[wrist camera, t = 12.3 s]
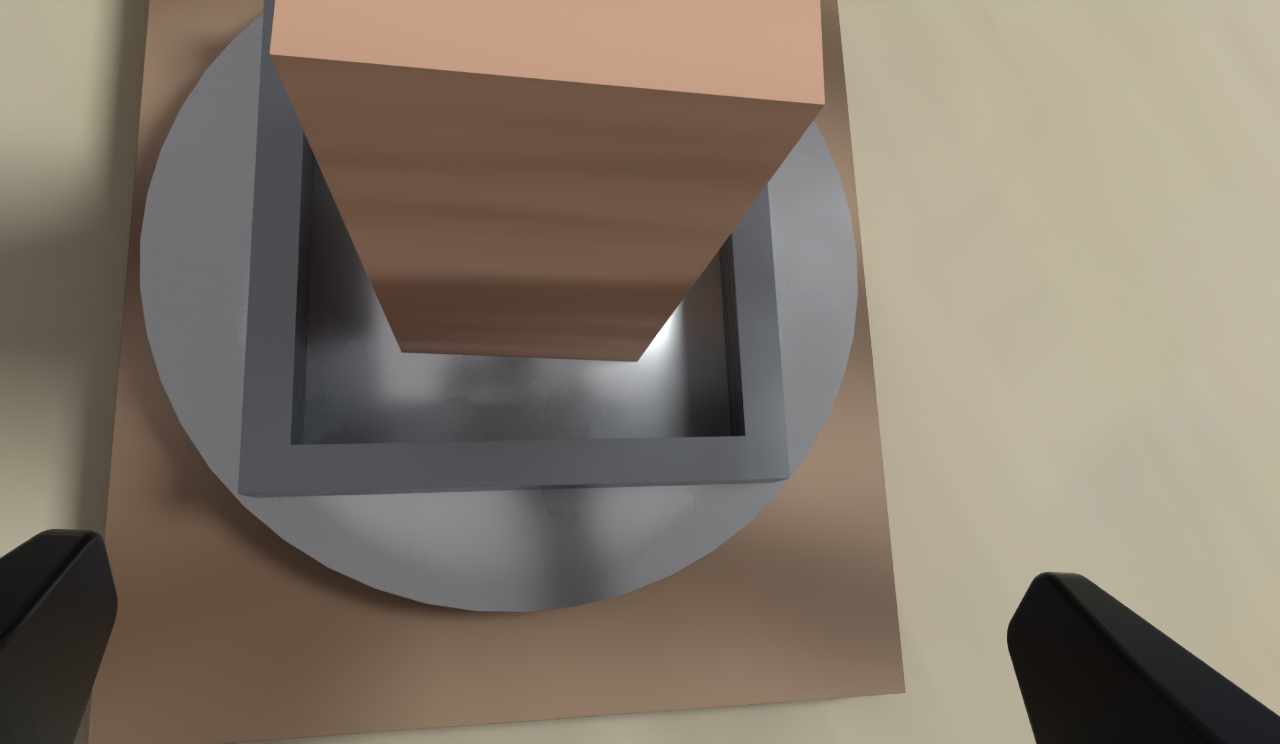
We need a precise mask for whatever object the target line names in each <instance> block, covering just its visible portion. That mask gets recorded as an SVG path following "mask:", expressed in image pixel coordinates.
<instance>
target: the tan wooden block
mask: <svg viewBox="0 0 1280 744" xmlns="http://www.w3.org/2000/svg"><path fill="white" fill-rule="evenodd" d="M270 56H271V58H272V61H273V63H274V65H275V68H276V70H277V72H278V74H279V77H280V79H281V81H282V83H283V86H284V88H285V90H286V92H287V95H288V97H289V99H290V101H291V104H292V106H293V108H294V110H295V113H296V115H297V117H298V120H299V122H300V124H301V126H302V129H303V131H304V133H305V135H306V138H307V140H308V142H309V144H310V147H311V149H312V151H313V153H314V156H315V158H316V160H317V162H318V165H319V167H320V169H321V171H322V174H323V176H324V178H325V181H326V183H327V185H328V187H329V190H330V192H331V194H332V196H333V199H334V201H335V203H336V205H337V208H338V210H339V212H340V214H341V217H342V219H343V221H344V223H345V226H346V228H347V230H348V232H349V235H350V237H351V239H352V242H353V244H354V246H355V248H356V251H357V253H358V255H359V257H360V260H361V262H362V264H363V266H364V269H365V271H366V273H367V275H368V278H369V280H370V282H371V284H372V287H373V289H374V291H375V294H376V296H377V298H378V300H379V303H380V305H381V307H382V309H383V312H384V314H385V316H386V318H387V321H388V323H389V325H390V327H391V330H392V332H393V334H394V336H395V339H396V341H397V343H398V345H399V348H400V350H401V352H402V353H425V354H450V355H475V356H500V357H525V358H550V359H575V360H600V361H625V362H638V360H639V359H640V358H641V356H642V355H643V353H644V352H645V351H646V349H647V348H648V347H649V345H650V344H651V342H652V341H653V340H654V338H655V337H656V336H657V334H658V333H659V332H660V330H661V329H662V327H663V326H664V325H665V323H666V322H667V321H668V319H669V318H670V316H671V315H672V314H673V312H674V311H675V310H676V308H677V307H678V305H679V304H680V303H681V301H682V300H683V299H684V297H685V296H686V295H687V293H688V292H689V290H690V289H691V288H692V286H693V285H694V284H695V282H696V281H697V279H698V278H699V277H700V275H701V274H702V273H703V271H704V270H705V268H706V267H707V266H708V264H709V263H710V262H711V260H712V259H713V258H714V256H715V255H716V253H717V252H718V251H719V249H720V248H721V247H722V245H723V244H724V242H725V241H726V240H727V238H728V237H729V236H730V234H731V233H732V231H733V230H734V229H735V227H736V226H737V225H738V223H739V222H740V220H741V219H742V218H743V216H744V215H745V214H746V212H747V211H748V210H749V208H750V207H751V205H752V204H753V203H754V201H755V200H756V199H757V197H758V196H759V194H760V193H761V192H762V190H763V189H764V188H765V186H766V185H767V183H768V182H769V181H770V179H771V178H772V177H773V175H774V174H775V173H776V171H777V170H778V168H779V167H780V166H781V164H782V163H783V162H784V160H785V159H786V157H787V156H788V155H789V153H790V152H791V151H792V149H793V148H794V146H795V145H796V144H797V142H798V141H799V140H800V138H801V137H802V136H803V134H804V133H805V131H806V130H807V129H808V127H809V126H810V125H811V123H812V122H813V120H814V119H815V118H816V116H817V115H818V114H819V112H820V111H821V109H822V108H823V107H824V105H825V95H824V73H823V51H822V30H821V8H820V0H275V7H274V17H273V26H272V36H271V46H270Z"/></svg>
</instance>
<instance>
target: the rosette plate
mask: <svg viewBox="0 0 1280 744" xmlns="http://www.w3.org/2000/svg"><path fill="white" fill-rule="evenodd" d="M274 7H275V0H264V10H263V14H261V15H260V16H259V17H258V18H257V19H256V20H254V21H253V22H252V23H251V24H250V25H249V26H247V27H246V28H245V29H244V30H243V31H242V32H240V33H239V34H238V35H237V36H236V37H235V38H234V39H233V40H232V41H231V43H230V44H229V45H228V46H227V47H226V48H225V49H224V50H223V52H222V53H221V54H220V55H219V56H218V57H217V58H216V59H215V61H214V62H213V63H212V64H211V65H210V66H209V67H208V68H207V70H206V71H205V72H204V74H203V75H202V77H201V78H200V80H199V81H198V83H197V84H196V86H195V87H194V89H193V90H192V92H191V93H190V95H189V96H188V98H187V99H186V101H185V102H184V104H183V105H182V107H181V109H180V111H179V113H178V115H177V117H176V119H175V121H174V123H173V125H172V127H171V130H170V132H169V134H168V136H167V138H166V140H165V142H164V144H163V146H162V148H161V151H160V154H159V158H158V161H157V164H156V167H155V170H154V174H153V177H152V180H151V183H150V186H149V190H148V193H147V199H146V206H145V212H144V218H143V225H142V231H141V238H140V291H141V298H142V304H143V311H144V318H145V325H146V332H147V337H148V340H149V343H150V347H151V350H152V353H153V357H154V360H155V363H156V367H157V370H158V373H159V377H160V380H161V383H162V385H163V387H164V389H165V391H166V393H167V395H168V397H169V400H170V402H171V404H172V406H173V408H174V410H175V412H176V414H177V416H178V419H179V421H180V423H181V425H182V427H183V428H184V430H185V431H186V433H187V434H188V436H189V437H190V439H191V440H192V442H193V443H194V445H195V446H196V448H197V449H198V451H199V452H200V454H201V455H202V457H203V458H204V460H205V461H206V463H207V465H208V466H209V468H210V469H211V470H212V471H213V472H214V473H215V474H216V476H217V477H218V478H219V479H220V480H221V481H222V482H223V483H224V485H225V486H226V487H227V488H228V489H229V490H230V491H231V492H232V493H233V495H234V496H235V497H236V498H237V499H238V500H239V501H240V502H241V503H242V505H243V506H244V507H245V508H247V509H248V510H249V511H250V512H251V513H252V514H254V515H255V516H256V517H257V518H258V519H260V520H261V521H262V522H263V523H264V524H266V525H267V526H268V527H269V528H270V529H272V530H273V531H274V532H275V533H276V534H278V535H279V536H280V537H281V538H282V539H283V540H285V541H286V542H288V543H290V544H291V545H293V546H294V547H296V548H298V549H299V550H301V551H303V552H304V553H306V554H307V555H309V556H311V557H312V558H314V559H315V560H317V561H319V562H320V563H322V564H323V565H325V566H327V567H328V568H330V569H333V570H335V571H337V572H339V573H342V574H344V575H346V576H348V577H350V578H353V579H355V580H357V581H359V582H362V583H364V584H366V585H368V586H371V587H373V588H375V589H378V590H381V591H385V592H388V593H392V594H395V595H399V596H402V597H405V598H409V599H412V600H416V601H419V602H423V603H426V604H433V605H439V606H446V607H453V608H459V609H466V610H473V611H501V612H532V611H540V610H548V609H557V608H565V607H573V606H580V605H584V604H588V603H591V602H595V601H599V600H603V599H607V598H611V597H615V596H618V595H622V594H626V593H629V592H631V591H634V590H636V589H638V588H641V587H643V586H646V585H648V584H651V583H653V582H656V581H658V580H660V579H663V578H665V577H668V576H670V575H672V574H674V573H676V572H678V571H679V570H681V569H683V568H684V567H686V566H688V565H690V564H691V563H693V562H695V561H697V560H698V559H700V558H702V557H703V556H705V555H707V554H709V553H710V552H712V551H714V550H715V549H716V548H717V547H719V546H720V545H721V544H723V543H724V542H725V541H726V540H728V539H729V538H730V537H732V536H733V535H734V534H735V533H737V532H738V531H739V530H741V529H742V528H743V527H745V526H746V525H747V524H748V523H750V522H751V521H752V520H753V519H754V517H755V516H756V515H757V514H758V513H759V512H760V511H761V510H762V509H763V508H764V507H765V506H766V505H767V504H768V503H769V502H770V501H771V500H772V499H773V498H774V497H775V496H776V495H777V494H778V493H779V492H780V491H781V490H782V488H783V487H784V486H785V484H786V483H787V482H788V480H789V479H790V478H791V476H792V475H793V474H794V472H795V471H796V470H797V468H798V467H799V466H800V464H801V463H802V462H803V460H804V459H805V457H806V456H807V455H808V453H809V451H810V449H811V448H812V446H813V444H814V442H815V440H816V438H817V437H818V435H819V433H820V431H821V429H822V428H823V426H824V424H825V422H826V420H827V418H828V417H829V414H830V412H831V409H832V406H833V404H834V401H835V399H836V396H837V393H838V391H839V388H840V386H841V383H842V380H843V378H844V374H845V370H846V366H847V362H848V357H849V353H850V349H851V345H852V340H853V336H854V328H855V318H856V307H857V297H858V282H857V252H856V246H855V239H854V233H853V227H852V221H851V215H850V210H849V207H848V203H847V200H846V196H845V193H844V190H843V186H842V183H841V179H840V176H839V173H838V170H837V168H836V166H835V163H834V161H833V159H832V156H831V154H830V152H829V149H828V147H827V145H826V143H825V140H824V138H823V136H822V134H821V132H820V130H819V129H818V127H817V125H816V123H815V122H814V120H813V122H812V123H811V125H810V126H809V127H808V129H807V130H806V131H805V133H804V134H803V136H802V137H801V138H800V140H799V141H798V142H797V144H796V145H795V146H794V148H793V149H792V151H791V152H790V153H789V155H788V156H787V157H786V159H785V160H784V162H783V163H782V164H781V166H780V167H779V168H778V170H777V171H776V173H775V174H774V175H773V177H772V178H771V179H770V181H769V182H768V183H767V185H766V186H765V188H764V189H763V190H762V192H761V193H760V194H759V196H758V197H757V199H756V200H755V201H754V203H753V204H752V205H751V207H750V208H749V210H748V211H747V212H746V214H745V215H744V216H743V218H742V219H741V220H740V222H739V223H738V225H737V226H736V227H735V229H734V230H733V231H732V233H731V234H730V236H729V237H728V238H727V240H726V241H725V242H724V244H723V245H722V247H721V248H720V249H719V251H718V252H717V253H716V255H715V256H714V258H713V259H712V260H711V262H710V263H709V264H708V266H707V267H706V268H705V270H704V271H703V273H702V274H701V275H700V277H699V278H698V279H697V281H696V282H695V284H694V285H693V286H692V288H691V289H690V290H689V292H688V293H687V295H686V296H685V297H684V299H683V300H682V301H681V303H680V304H679V305H678V307H677V308H676V310H675V311H674V312H673V314H672V315H671V316H670V318H669V319H668V321H667V322H666V323H665V325H664V326H663V327H662V329H661V330H660V332H659V333H658V334H657V336H656V337H655V338H654V340H653V341H652V342H651V344H650V345H649V347H648V348H647V349H646V351H645V352H644V353H643V355H642V356H641V358H640V359H639V360H638V362H625V361H600V360H575V359H550V358H525V357H500V356H475V355H450V354H425V353H402V352H401V350H400V348H399V345H398V343H397V341H396V339H395V336H394V334H393V332H392V330H391V327H390V325H389V323H388V321H387V318H386V316H385V314H384V312H383V309H382V307H381V305H380V303H379V300H378V298H377V296H376V294H375V291H374V289H373V287H372V284H371V282H370V280H369V278H368V275H367V273H366V271H365V269H364V266H363V264H362V262H361V260H360V257H359V255H358V253H357V251H356V248H355V246H354V244H353V242H352V239H351V237H350V235H349V232H348V230H347V228H346V226H345V223H344V221H343V219H342V217H341V214H340V212H339V210H338V208H337V205H336V203H335V201H334V199H333V196H332V194H331V192H330V190H329V187H328V185H327V183H326V181H325V178H324V176H323V174H322V171H321V169H320V167H319V165H318V162H317V160H316V158H315V156H314V153H313V151H312V149H311V147H310V144H309V142H308V140H307V138H306V135H305V133H304V131H303V129H302V126H301V124H300V122H299V120H298V117H297V115H296V113H295V110H294V108H293V106H292V104H291V101H290V99H289V97H288V95H287V92H286V90H285V88H284V86H283V83H282V81H281V79H280V77H279V74H278V72H277V70H276V68H275V65H274V63H273V61H272V58H271V56H270V46H271V36H272V26H273V17H274Z"/></svg>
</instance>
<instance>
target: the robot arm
mask: <svg viewBox="0 0 1280 744" xmlns="http://www.w3.org/2000/svg"><path fill="white" fill-rule="evenodd" d="M117 608H118V597H117V591H116V587H115V583H114V579H113V575H112V570H111V566H110V562H109V558H108V554H107V550H106V546H105V543H104V540H103V538H102V537H101V536H100V534H98V533H97V532H94V531H90V530H67V529H50V530H46V531H43V532H41V533H39V534H37V535H35V536H34V537H32V538H31V539H29V540H28V541H26V542H24V543H23V544H21V545H20V546H18V547H17V548H15V549H14V550H12V551H10V552H9V553H7V554H6V555H4V556H3V557H1V558H0V744H74V741H75V738H76V735H77V732H78V729H79V726H80V723H81V720H82V717H83V714H84V711H85V709H86V706H87V703H88V700H89V697H90V694H91V691H92V688H93V685H94V682H95V679H96V676H97V673H98V670H99V668H100V665H101V662H102V659H103V656H104V653H105V650H106V647H107V644H108V641H109V638H110V635H111V632H112V629H113V626H114V623H115V620H116V615H117ZM1007 644H1008V649H1009V653H1010V657H1011V660H1012V663H1013V667H1014V670H1015V673H1016V677H1017V680H1018V684H1019V687H1020V690H1021V694H1022V697H1023V700H1024V704H1025V707H1026V711H1027V714H1028V717H1029V721H1030V724H1031V728H1032V731H1033V734H1034V738H1035V741H1036V744H1280V716H1278V715H1277V714H1276V713H1274V712H1273V711H1272V710H1270V709H1269V708H1267V707H1266V706H1265V705H1263V704H1262V703H1260V702H1259V701H1258V700H1256V699H1255V698H1253V697H1252V696H1251V695H1249V694H1248V693H1246V692H1245V691H1244V690H1242V689H1241V688H1239V687H1238V686H1237V685H1235V684H1234V683H1232V682H1231V681H1230V680H1228V679H1227V678H1225V677H1224V676H1223V675H1221V674H1220V673H1218V672H1217V671H1216V670H1214V669H1213V668H1211V667H1210V666H1209V665H1207V664H1206V663H1204V662H1203V661H1202V660H1200V659H1199V658H1197V657H1196V656H1195V655H1193V654H1192V653H1190V652H1189V651H1188V650H1186V649H1185V648H1183V647H1182V646H1181V645H1179V644H1178V643H1176V642H1175V641H1174V640H1172V639H1171V638H1170V637H1168V636H1167V635H1165V634H1164V633H1163V632H1161V631H1160V630H1158V629H1157V628H1156V627H1154V626H1153V625H1151V624H1150V623H1149V622H1147V621H1146V620H1144V619H1143V618H1142V617H1140V616H1139V615H1137V614H1136V613H1135V612H1133V611H1132V610H1130V609H1129V608H1128V607H1126V606H1125V605H1123V604H1122V603H1121V602H1119V601H1118V600H1116V599H1115V598H1114V597H1112V596H1111V595H1109V594H1108V593H1107V592H1105V591H1104V590H1102V589H1101V588H1100V587H1098V586H1097V585H1096V584H1094V583H1093V582H1091V581H1090V580H1089V579H1087V578H1085V577H1084V576H1082V575H1079V574H1075V573H1059V572H1044V573H1041V574H1039V575H1038V576H1036V577H1035V578H1034V580H1033V581H1032V583H1031V584H1030V586H1029V588H1028V590H1027V592H1026V593H1025V595H1024V597H1023V599H1022V601H1021V603H1020V604H1019V606H1018V608H1017V610H1016V612H1015V614H1014V615H1013V617H1012V619H1011V621H1010V623H1009V626H1008V630H1007Z"/></svg>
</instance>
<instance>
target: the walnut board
mask: <svg viewBox="0 0 1280 744" xmlns="http://www.w3.org/2000/svg"><path fill="white" fill-rule="evenodd" d="M820 8H821V30H822V51H823V73H824V95H825V105H824V107H823V108H822V109H821V111H820V112H819V114H818V115H817V116H816V118H815V119H814V122H815V123H816V125H817V127H818V129H819V130H820V132H821V134H822V136H823V138H824V140H825V143H826V145H827V147H828V149H829V152H830V154H831V156H832V159H833V161H834V163H835V166H836V168H837V170H838V173H839V176H840V179H841V183H842V186H843V190H844V193H845V196H846V200H847V203H848V207H849V210H850V215H851V221H852V227H853V233H854V239H855V246H856V252H857V282H858V297H857V307H856V318H855V328H854V336H853V340H852V345H851V349H850V353H849V357H848V362H847V366H846V370H845V374H844V378H843V380H842V383H841V386H840V388H839V391H838V393H837V396H836V399H835V401H834V404H833V406H832V409H831V412H830V414H829V417H828V418H827V420H826V422H825V424H824V426H823V428H822V429H821V431H820V433H819V435H818V437H817V438H816V440H815V442H814V444H813V446H812V448H811V449H810V451H809V453H808V455H807V456H806V457H805V459H804V460H803V462H802V463H801V464H800V466H799V467H798V468H797V470H796V471H795V472H794V474H793V475H792V476H791V478H790V479H789V480H788V482H787V483H786V484H785V486H784V487H783V488H782V490H781V491H780V492H779V493H778V494H777V495H776V496H775V497H774V498H773V499H772V500H771V501H770V502H769V503H768V504H767V505H766V506H765V507H764V508H763V509H762V510H761V511H760V512H759V513H758V514H757V515H756V516H755V517H754V519H753V520H752V521H751V522H750V523H748V524H747V525H746V526H745V527H743V528H742V529H741V530H739V531H738V532H737V533H735V534H734V535H733V536H732V537H730V538H729V539H728V540H726V541H725V542H724V543H723V544H721V545H720V546H719V547H717V548H716V549H715V550H714V551H712V552H710V553H709V554H707V555H705V556H703V557H702V558H700V559H698V560H697V561H695V562H693V563H691V564H690V565H688V566H686V567H684V568H683V569H681V570H679V571H678V572H676V573H674V574H672V575H670V576H668V577H665V578H663V579H660V580H658V581H656V582H653V583H651V584H648V585H646V586H643V587H641V588H638V589H636V590H634V591H631V592H629V593H626V594H622V595H618V596H615V597H611V598H607V599H603V600H599V601H595V602H591V603H588V604H584V605H580V606H573V607H565V608H557V609H548V610H540V611H532V612H501V611H473V610H466V609H459V608H453V607H446V606H439V605H433V604H426V603H423V602H419V601H416V600H412V599H409V598H405V597H402V596H399V595H395V594H392V593H388V592H385V591H381V590H378V589H375V588H373V587H371V586H368V585H366V584H364V583H362V582H359V581H357V580H355V579H353V578H350V577H348V576H346V575H344V574H342V573H339V572H337V571H335V570H333V569H330V568H328V567H327V566H325V565H323V564H322V563H320V562H319V561H317V560H315V559H314V558H312V557H311V556H309V555H307V554H306V553H304V552H303V551H301V550H299V549H298V548H296V547H294V546H293V545H291V544H290V543H288V542H286V541H285V540H283V539H282V538H281V537H280V536H279V535H278V534H276V533H275V532H274V531H273V530H272V529H270V528H269V527H268V526H267V525H266V524H264V523H263V522H262V521H261V520H260V519H258V518H257V517H256V516H255V515H254V514H252V513H251V512H250V511H249V510H248V509H247V508H245V507H244V506H243V505H242V503H241V502H240V501H239V500H238V499H237V498H236V497H235V496H234V495H233V493H232V492H231V491H230V490H229V489H228V488H227V487H226V486H225V485H224V483H223V482H222V481H221V480H220V479H219V478H218V477H217V476H216V474H215V473H214V472H213V471H212V470H211V469H210V468H209V466H208V465H207V463H206V461H205V460H204V458H203V457H202V455H201V454H200V452H199V451H198V449H197V448H196V446H195V445H194V443H193V442H192V440H191V439H190V437H189V436H188V434H187V433H186V431H185V430H184V428H183V427H182V425H181V423H180V421H179V419H178V416H177V414H176V412H175V410H174V408H173V406H172V404H171V402H170V400H169V397H168V395H167V393H166V391H165V389H164V387H163V385H162V383H161V380H160V377H159V373H158V370H157V367H156V363H155V360H154V357H153V353H152V350H151V347H150V343H149V340H148V337H147V332H146V325H145V318H144V311H143V304H142V298H141V291H140V238H141V231H142V225H143V218H144V212H145V206H146V199H147V193H148V190H149V186H150V183H151V180H152V177H153V174H154V170H155V167H156V164H157V161H158V158H159V154H160V151H161V148H162V146H163V144H164V142H165V140H166V138H167V136H168V134H169V132H170V130H171V127H172V125H173V123H174V121H175V119H176V117H177V115H178V113H179V111H180V109H181V107H182V105H183V104H184V102H185V101H186V99H187V98H188V96H189V95H190V93H191V92H192V90H193V89H194V87H195V86H196V84H197V83H198V81H199V80H200V78H201V77H202V75H203V74H204V72H205V71H206V70H207V68H208V67H209V66H210V65H211V64H212V63H213V62H214V61H215V59H216V58H217V57H218V56H219V55H220V54H221V53H222V52H223V50H224V49H225V48H226V47H227V46H228V45H229V44H230V43H231V41H232V40H233V39H234V38H235V37H236V36H237V35H238V34H239V33H240V32H242V31H243V30H244V29H245V28H246V27H247V26H249V25H250V24H251V23H252V22H253V21H254V20H256V19H257V18H258V17H259V16H260V15H261V14H263V10H264V0H150V1H149V13H148V25H147V37H146V49H145V61H144V73H143V85H142V97H141V109H140V121H139V133H138V145H137V157H136V169H135V181H134V193H133V205H132V217H131V229H130V241H129V253H128V265H127V277H126V289H125V301H124V313H123V324H122V336H121V348H120V360H119V372H118V384H117V396H116V408H115V420H114V432H113V444H112V456H111V468H110V480H109V492H108V504H107V516H106V528H105V540H104V543H105V546H106V550H107V554H108V558H109V562H110V566H111V570H112V575H113V579H114V583H115V587H116V591H117V597H118V608H117V615H116V620H115V623H114V626H113V629H112V632H111V635H110V638H109V641H108V644H107V647H106V650H105V653H104V656H103V659H102V662H101V665H100V668H99V670H98V673H97V676H96V679H95V682H94V685H93V688H92V696H91V708H90V720H89V732H88V744H220V743H234V742H247V741H261V740H274V739H288V738H302V737H315V736H329V735H342V734H356V733H369V732H383V731H396V730H410V729H424V728H437V727H451V726H464V725H478V724H491V723H505V722H519V721H532V720H546V719H559V718H573V717H586V716H600V715H613V714H627V713H641V712H654V711H668V710H681V709H695V708H708V707H722V706H735V705H749V704H763V703H776V702H790V701H803V700H817V699H830V698H844V697H857V696H871V695H885V694H898V693H905V683H904V673H903V663H902V653H901V643H900V633H899V623H898V612H897V602H896V592H895V582H894V572H893V562H892V552H891V541H890V531H889V521H888V511H887V501H886V491H885V481H884V470H883V460H882V450H881V440H880V430H879V420H878V410H877V399H876V389H875V379H874V369H873V359H872V349H871V339H870V328H869V318H868V308H867V298H866V288H865V278H864V268H863V257H862V247H861V237H860V227H859V217H858V207H857V197H856V186H855V176H854V166H853V156H852V146H851V136H850V125H849V115H848V105H847V95H846V85H845V75H844V65H843V54H842V44H841V34H840V24H839V14H838V4H837V0H820Z"/></svg>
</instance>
